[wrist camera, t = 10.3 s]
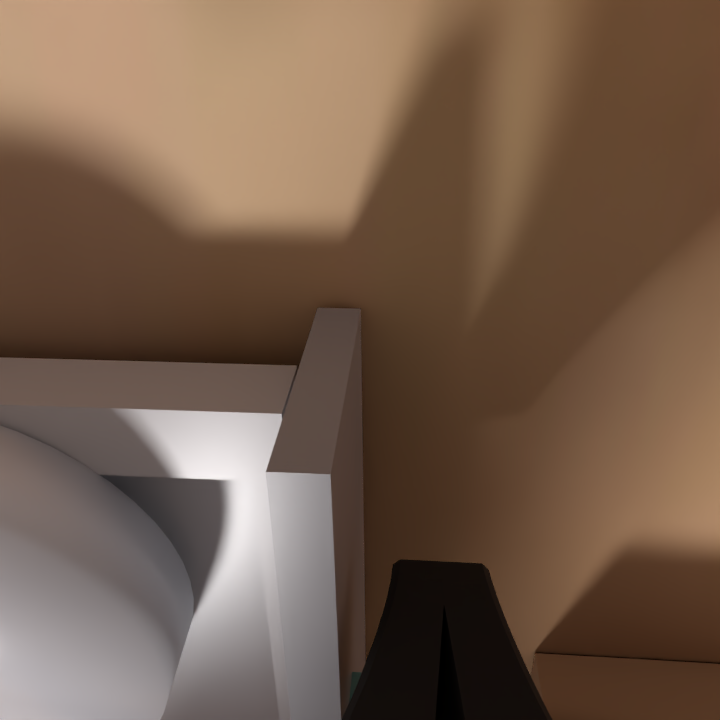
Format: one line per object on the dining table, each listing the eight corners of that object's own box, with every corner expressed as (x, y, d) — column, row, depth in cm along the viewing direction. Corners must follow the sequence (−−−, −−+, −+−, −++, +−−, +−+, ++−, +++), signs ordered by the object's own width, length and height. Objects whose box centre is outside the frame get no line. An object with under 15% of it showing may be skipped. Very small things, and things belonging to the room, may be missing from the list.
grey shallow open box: (373, 787, 17) (360, 999, 14) (-101, 752, 18) (-230, 942, 15) (369, 308, 11) (344, 474, 7) (-370, 293, 12) (-725, 432, 8)
